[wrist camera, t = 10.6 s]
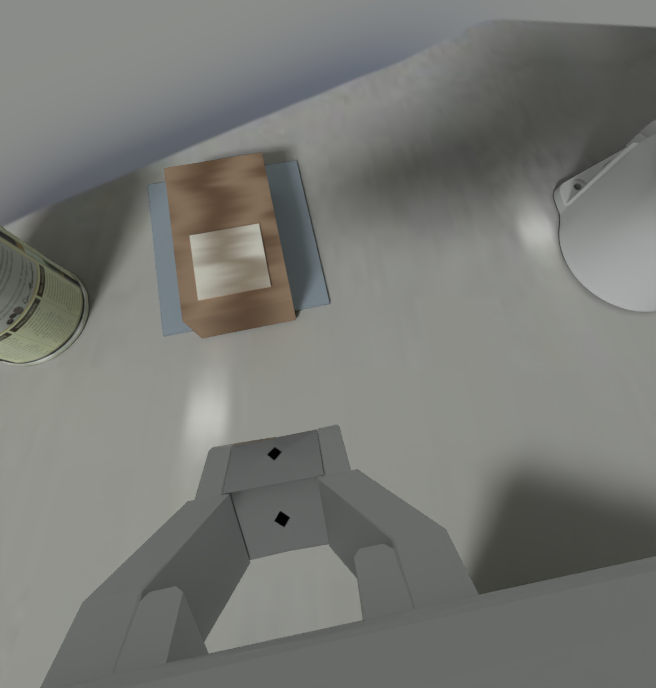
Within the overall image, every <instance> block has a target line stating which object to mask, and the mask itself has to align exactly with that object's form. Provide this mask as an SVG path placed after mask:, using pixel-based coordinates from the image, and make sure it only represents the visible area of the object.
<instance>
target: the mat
mask: <svg viewBox="0 0 656 688" xmlns="http://www.w3.org/2000/svg"><path fill="white" fill-rule="evenodd" d="M265 169H266V174H267V179H268V184H269V189H270V194H271V199H272V204H273V208H274V213H275V218H276V223H277V228H278V233H279V238H280V243H281V247H282V252H283V257H284V262H285V267H286V272H287V277H288V282H289V286H290V291H291V296H292V301H293V306H294V311H296V310H302V309H307V308H312V307H317V306H322V305H327V304H330V303H329V298H328V294H327V290H326V285H325V281H324V277H323V273H322V268H321V264H320V260H319V255H318V251H317V247H316V243H315V238H314V234H313V230H312V225H311V221H310V217H309V213H308V208H307V204H306V200H305V195H304V191H303V187H302V182H301V178H300V174H299V170H298V165H297V161H296V160H295V161H289V162H283V163H277V164H271V165H265ZM148 194H149V203H150V213H151V223H152V232H153V242H154V252H155V261H156V271H157V281H158V290H159V300H160V310H161V319H162V329H163V336H169V335H174V334H179V333H184V332H189V331H193V330H192V329H191V328H190V327H188V326H187V325H186V324H185V323H184V322H183V321H182V314H181V306H180V298H179V289H178V281H177V272H176V264H175V256H174V247H173V239H172V230H171V222H170V214H169V205H168V197H167V188H166V182H161V183H155V184H149V185H148Z"/></svg>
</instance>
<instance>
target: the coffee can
mask: <svg viewBox="0 0 656 688" xmlns="http://www.w3.org/2000/svg"><path fill="white" fill-rule="evenodd" d="M88 312H89V300H88V295H87V292H86V289H85V287H84V285H83V284H82V282H81V281H80V280H79V279H78V277H77V276H75V275H74V274H73V273H71V272H70V271H68V270H66V269H64V268H62V267H61V266H59V265H58V264H56V263H55V262H53V261H52V260H50V259H49V258H47V257H46V256H44V255H43V254H41V253H40V252H38V251H37V250H35V249H34V248H32V247H31V246H29V245H28V244H26V243H25V242H23V241H22V240H20V239H19V238H17V237H16V236H14V235H13V234H11V233H10V232H8V231H7V230H5V229H4V228H3V227H1V226H0V361H1V362H4V363H7V364H11V365H18V366H29V365H35V364H39V363H43V362H45V361H48V360H50V359H52V358H54V357H56V356H58V355H59V354H61V353H62V352H64V351H65V350H67V349H68V348H69V347H70V346H71V345H72V344H73V342H74V341H75V340H76V339H77V338H78V336H79V335H80V333H81V332H82V330H83V328H84V326H85V323H86V320H87V317H88Z"/></svg>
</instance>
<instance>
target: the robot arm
mask: <svg viewBox="0 0 656 688" xmlns="http://www.w3.org/2000/svg"><path fill="white" fill-rule="evenodd" d="M625 147H626V148H624V149H622V150H621V151H619V152H617V153H615V154H613V155H612V156H610V157H608V158H606V159H605V160H603V161H601V162H599V163H597V164H596V165H594V166H592V167H590V168H589V169H587V170H585V171H583V172H581V173H580V174H578V175H576V176H574V177H573V178H571V179H569V180H567V181H565V182H564V183H562V184H561V185H560V186H559V187H558V188H556V190H555V191H554V200H555V203H556V206H557V208H558V211H559V213H560V229H559V239H560V246H561V250H562V253H563V256H564V258H565V261H566V263H567V265H568V266H569V268H570V270H571V271H572V273H573V274H574V275H575V277H576V278H577V279H578V280H579V281H580V282H581V283H582V284H583V285H584V286H585V287H586V288H587V289H588V290H589V291H591V292H592V293H593V294H595V295H596V296H598V297H599V298H601V299H603V300H604V301H606V302H608V303H610V304H613V305H615V306H618V307H621V308H624V309H628V310H633V311H642V312H650V311H656V120H654V121H652V122H651V123H650V124H648V125H647V126H646V127H645V128H643V129H642V130H641V131H640V132H639V133H638V134H637V135H636V136H635V137H634V138H633V139H632V140H630V141H629V142H628V143H627V144H626V145H625ZM318 438H319V439H318ZM319 444H320V445H319ZM320 450H321V451H320ZM321 456H322V457H321ZM326 544H329V546H330V547H331V548H332V550H333V551H334V552H335V553H336V554H337V556H338V557H339V558H340V559H341V560H342V561H343V563H344V564H345V565H346V566H347V567H348V569H349V570H350V571H351V572H352V573H353V574H354V576H355V577H356V578H357V582H358V589H359V596H360V603H361V610H362V618H363V620H361V621H357V622H352V623H348V624H343V625H339V626H334V627H329V628H325V629H320V630H316V631H311V632H306V633H302V634H297V635H293V636H288V637H283V638H279V639H274V640H270V641H265V642H261V643H256V644H251V645H247V646H242V647H238V648H233V649H228V650H224V651H219V652H215V653H210V654H209V653H208V651H207V648H206V646H205V644H204V641H205V640H206V638H207V636H208V634H209V633H210V631H211V629H212V628H213V626H214V624H215V622H216V621H217V619H218V617H219V615H220V614H221V612H222V610H223V609H224V607H225V605H226V603H227V602H228V600H229V598H230V597H231V595H232V593H233V591H234V590H235V588H236V586H237V584H238V583H239V581H240V579H241V578H242V576H243V574H244V572H245V571H246V569H247V567H248V565H249V564H250V561H249V560H252V559H257V558H261V557H265V556H270V555H274V554H278V553H282V552H287V551H292V550H297V549H303V548H309V547H315V546H321V545H326ZM40 688H656V556H654V557H650V558H645V559H640V560H636V561H631V562H627V563H622V564H617V565H613V566H608V567H604V568H599V569H594V570H590V571H585V572H581V573H576V574H571V575H567V576H562V577H558V578H553V579H549V580H544V581H539V582H535V583H530V584H526V585H521V586H516V587H512V588H507V589H503V590H498V591H493V592H489V593H484V594H480V595H479V594H478V592H477V590H476V588H475V586H474V584H473V582H472V580H471V578H470V576H469V574H468V572H467V570H466V568H465V566H464V564H463V562H462V560H461V558H460V556H459V554H458V552H457V550H456V548H455V546H454V544H453V542H452V541H451V539H450V537H449V535H448V533H447V531H446V529H445V528H443V527H442V526H440V525H439V524H437V523H436V522H434V521H433V520H431V519H430V518H428V517H427V516H425V515H424V514H423V513H421V512H420V511H418V510H417V509H415V508H414V507H412V506H411V505H409V504H408V503H406V502H405V501H403V500H402V499H400V498H399V497H397V496H396V495H395V494H393V493H392V492H390V491H389V490H387V489H386V488H384V487H383V486H381V485H380V484H378V483H377V482H375V481H374V480H372V479H371V478H370V477H368V476H367V475H365V474H364V473H362V472H361V471H359V470H358V469H356V470H351V469H350V465H349V461H348V457H347V454H346V450H345V446H344V442H343V438H342V435H341V431H340V427H339V426H338V425H333V426H329V427H324V428H319V429H318V433H317V430H312V431H307V432H302V433H296V434H291V435H286V436H281V437H273V438H266V439H260V440H254V441H248V442H241V443H235V444H229V445H224V446H218V447H213V448H211V449H210V450H209V452H208V455H207V459H206V462H205V466H204V469H203V473H202V476H201V480H200V483H199V487H198V490H197V494H196V497H195V500H193V501H188V502H187V503H186V504H185V505H184V506H183V507H181V508H180V509H179V510H178V511H177V512H176V513H175V514H174V515H173V516H172V517H171V518H170V519H169V520H168V521H167V522H166V523H165V524H164V525H163V526H162V527H161V528H160V529H159V530H158V531H157V532H156V533H154V534H153V535H152V536H151V537H150V538H149V539H148V540H147V541H146V542H145V543H144V544H143V545H142V546H141V547H140V548H139V549H138V550H137V551H136V552H135V553H134V554H133V555H132V556H131V557H130V558H128V559H127V560H126V561H125V562H124V563H123V564H122V565H121V566H120V567H119V568H118V569H117V570H116V571H115V572H114V573H113V574H112V575H111V576H110V577H109V578H108V579H107V580H106V581H105V582H104V583H102V584H101V585H100V586H99V587H98V588H97V589H96V590H95V591H94V592H93V593H92V594H91V595H90V596H89V597H88V598H87V599H86V600H85V601H84V602H83V603H82V605H81V607H80V609H79V611H78V613H77V615H76V617H75V619H74V621H73V623H72V625H71V627H70V629H69V631H68V633H67V635H66V637H65V639H64V641H63V643H62V645H61V647H60V649H59V651H58V653H57V655H56V657H55V659H54V661H53V663H52V665H51V667H50V669H49V671H48V673H47V675H46V677H45V679H44V681H43V683H42V685H41V687H40Z"/></svg>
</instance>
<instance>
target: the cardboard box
mask: <svg viewBox="0 0 656 688" xmlns="http://www.w3.org/2000/svg"><path fill="white" fill-rule="evenodd" d="M164 171H165V180H166V188H167V197H168V205H169V214H170V222H171V230H172V239H173V247H174V256H175V264H176V272H177V281H178V289H179V298H180V306H181V314H182V321H183V322H184V323H185V324H186V325H187V326H188V327H190V328H191V329H192V330H193V331H194V332H195V333H196V334H198V335H199V336H200V337H201V338H206V337H211V336H216V335H221V334H226V333H231V332H236V331H242V330H247V329H252V328H257V327H262V326H267V325H272V324H277V323H282V322H287V321H292V320H296V316H295V311H294V306H293V301H292V296H291V291H290V286H289V282H288V277H287V272H286V267H285V262H284V257H283V252H282V247H281V243H280V238H279V233H278V228H277V223H276V218H275V213H274V208H273V204H272V199H271V194H270V189H269V184H268V179H267V174H266V169H265V165H264V160H263V155H262V152H261V153H255V154H249V155H243V156H237V157H231V158H224V159H218V160H212V161H206V162H200V163H193V164H187V165H181V166H175V167H169V168H164Z"/></svg>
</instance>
